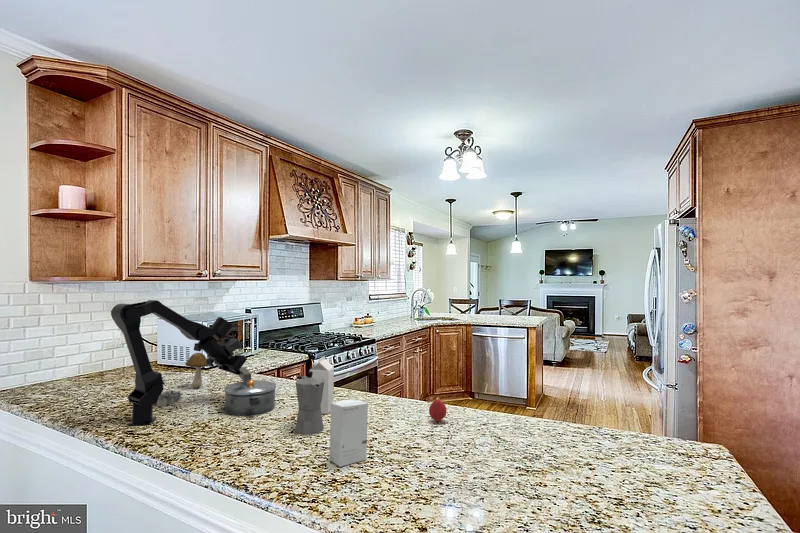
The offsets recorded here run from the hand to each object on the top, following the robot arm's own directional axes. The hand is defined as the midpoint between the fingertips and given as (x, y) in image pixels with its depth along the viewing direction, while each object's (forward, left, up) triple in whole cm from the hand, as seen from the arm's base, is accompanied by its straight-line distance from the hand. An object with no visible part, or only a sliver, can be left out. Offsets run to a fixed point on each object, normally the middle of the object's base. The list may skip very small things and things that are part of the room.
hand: (239, 373), depth 170 cm
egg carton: (-1, +26, -10) cm, 28 cm away
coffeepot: (-39, -28, -10) cm, 49 cm away
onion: (-39, -70, -10) cm, 81 cm away
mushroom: (+20, +20, -10) cm, 30 cm away
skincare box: (-65, -39, -10) cm, 76 cm away
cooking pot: (-15, -6, -10) cm, 19 cm away
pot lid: (-9, -5, -2) cm, 10 cm away
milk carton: (-21, -32, -10) cm, 39 cm away
